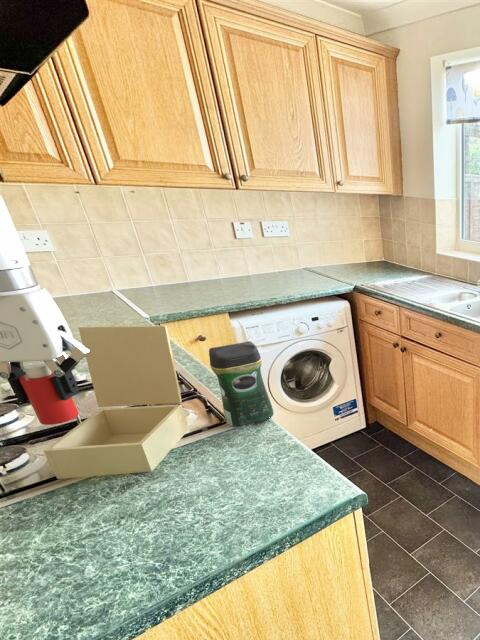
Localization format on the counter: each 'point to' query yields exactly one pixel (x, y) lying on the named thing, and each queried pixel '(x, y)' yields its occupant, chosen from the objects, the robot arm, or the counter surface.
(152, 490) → the counter surface
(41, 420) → the ketchup bottle
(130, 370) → the bin lid
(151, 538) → the counter surface
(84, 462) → the bin
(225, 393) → the coffee jar
